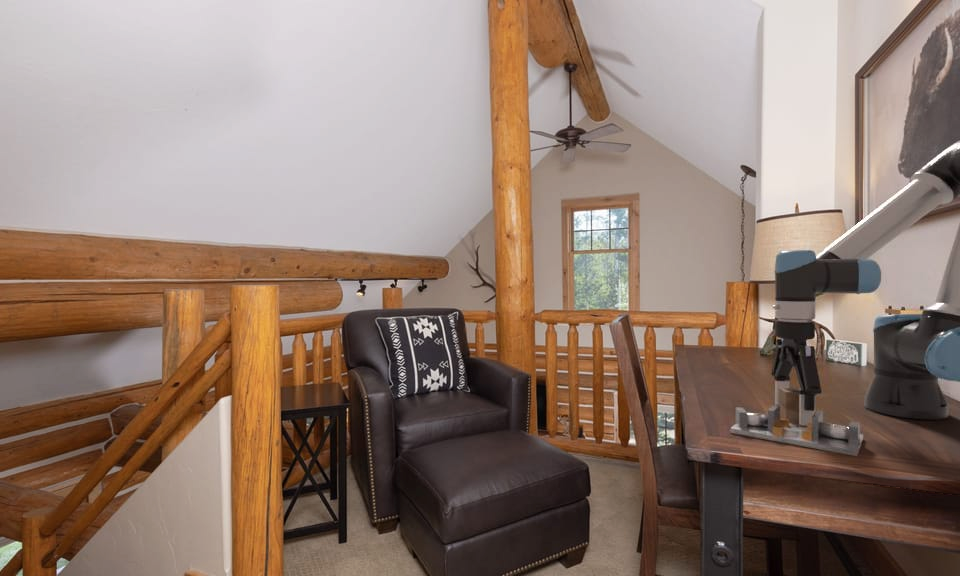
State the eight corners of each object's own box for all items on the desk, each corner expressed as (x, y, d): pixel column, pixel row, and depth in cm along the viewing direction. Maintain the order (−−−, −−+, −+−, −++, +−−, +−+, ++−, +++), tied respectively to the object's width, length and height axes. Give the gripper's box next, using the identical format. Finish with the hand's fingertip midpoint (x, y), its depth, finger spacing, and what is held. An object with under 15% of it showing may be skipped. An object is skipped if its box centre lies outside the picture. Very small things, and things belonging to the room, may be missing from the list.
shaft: (766, 424, 106) (766, 409, 106) (771, 429, 102) (771, 414, 102) (735, 422, 108) (735, 407, 108) (739, 427, 104) (739, 412, 104)
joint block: (803, 419, 112) (803, 386, 112) (810, 424, 108) (811, 390, 108) (778, 418, 113) (778, 385, 113) (785, 423, 109) (785, 389, 109)
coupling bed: (863, 439, 98) (863, 413, 98) (857, 456, 89) (857, 427, 89) (745, 420, 112) (745, 397, 112) (730, 432, 103) (730, 408, 103)
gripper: (756, 315, 123) (756, 402, 124) (799, 325, 99) (799, 432, 99) (790, 316, 122) (789, 403, 122) (842, 325, 97) (841, 434, 98)
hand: (793, 416), depth 111 cm, fingers open, 12 cm apart
